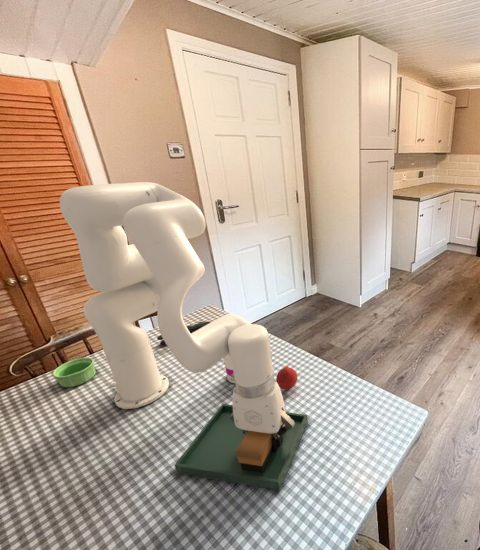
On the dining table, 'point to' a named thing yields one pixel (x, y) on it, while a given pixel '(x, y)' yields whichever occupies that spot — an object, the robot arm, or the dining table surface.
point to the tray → (223, 458)
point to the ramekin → (75, 372)
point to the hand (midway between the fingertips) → (265, 444)
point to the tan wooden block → (255, 451)
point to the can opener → (191, 329)
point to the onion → (286, 378)
